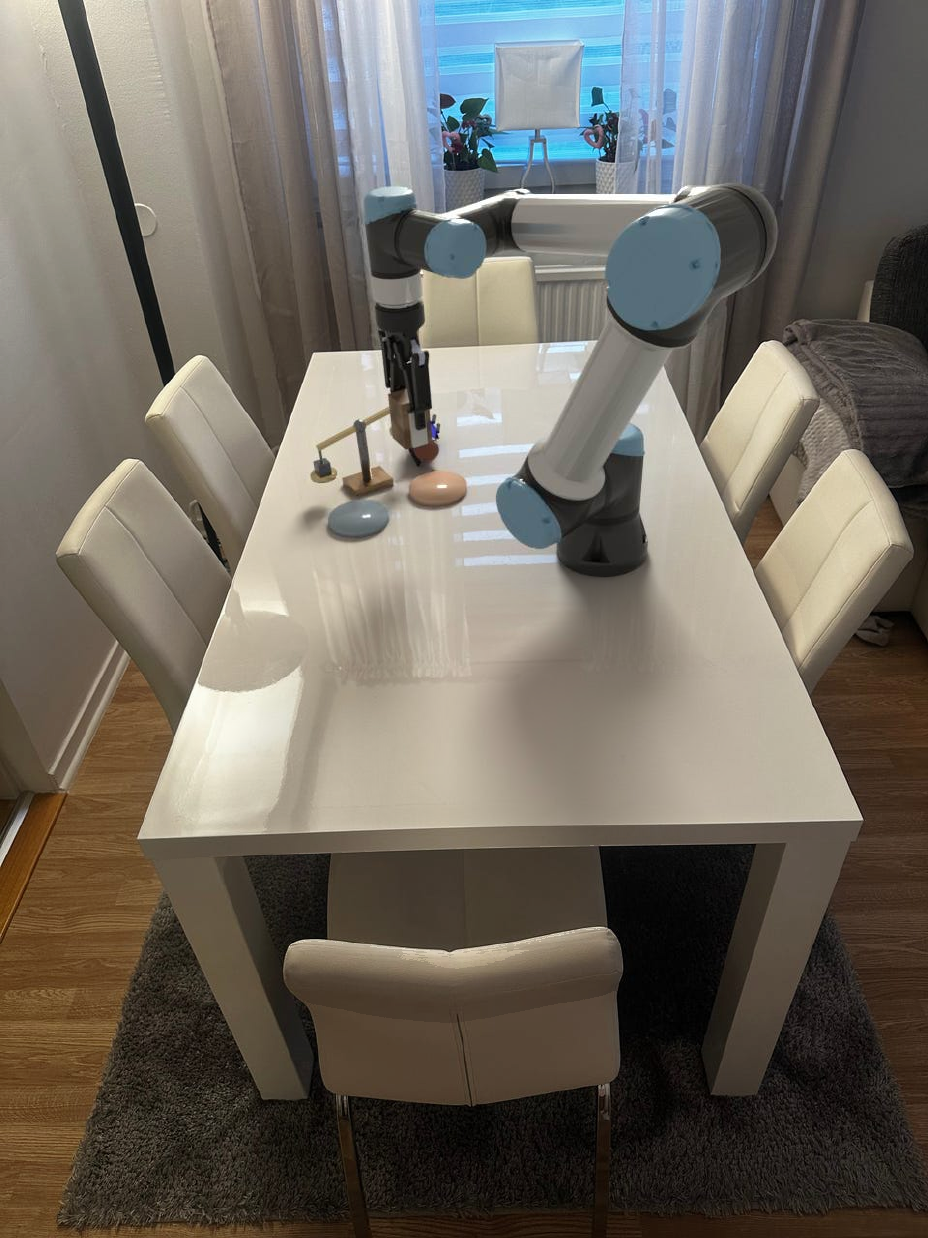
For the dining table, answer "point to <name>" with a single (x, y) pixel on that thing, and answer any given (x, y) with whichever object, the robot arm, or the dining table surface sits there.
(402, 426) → the block
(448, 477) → the peach glossy dome
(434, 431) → the character figurine
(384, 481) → the balance
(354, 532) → the blue gray round dish
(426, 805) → the dining table surface
